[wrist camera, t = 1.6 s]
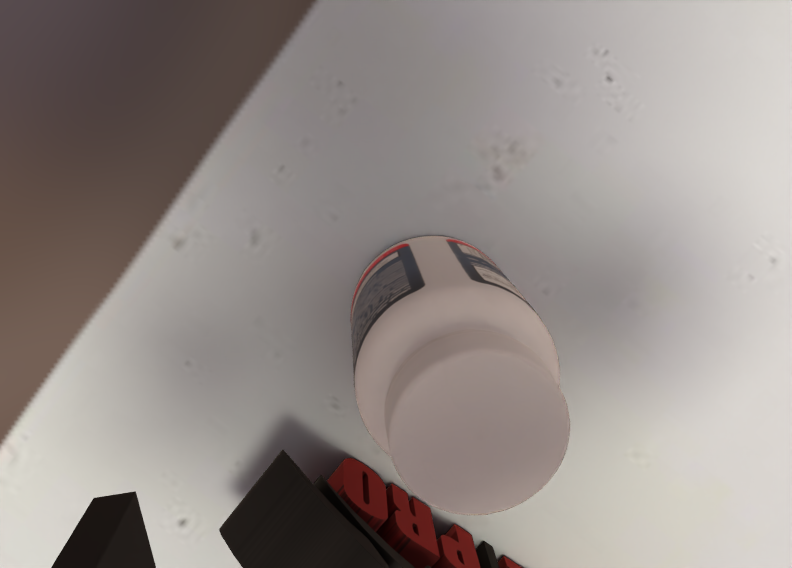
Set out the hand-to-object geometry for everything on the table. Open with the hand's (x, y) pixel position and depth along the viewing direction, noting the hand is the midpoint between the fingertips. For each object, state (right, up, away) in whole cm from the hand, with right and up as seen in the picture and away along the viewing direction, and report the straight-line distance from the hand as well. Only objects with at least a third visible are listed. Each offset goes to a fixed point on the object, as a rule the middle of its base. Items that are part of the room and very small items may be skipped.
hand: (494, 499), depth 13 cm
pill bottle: (-1, +3, +11) cm, 11 cm away
